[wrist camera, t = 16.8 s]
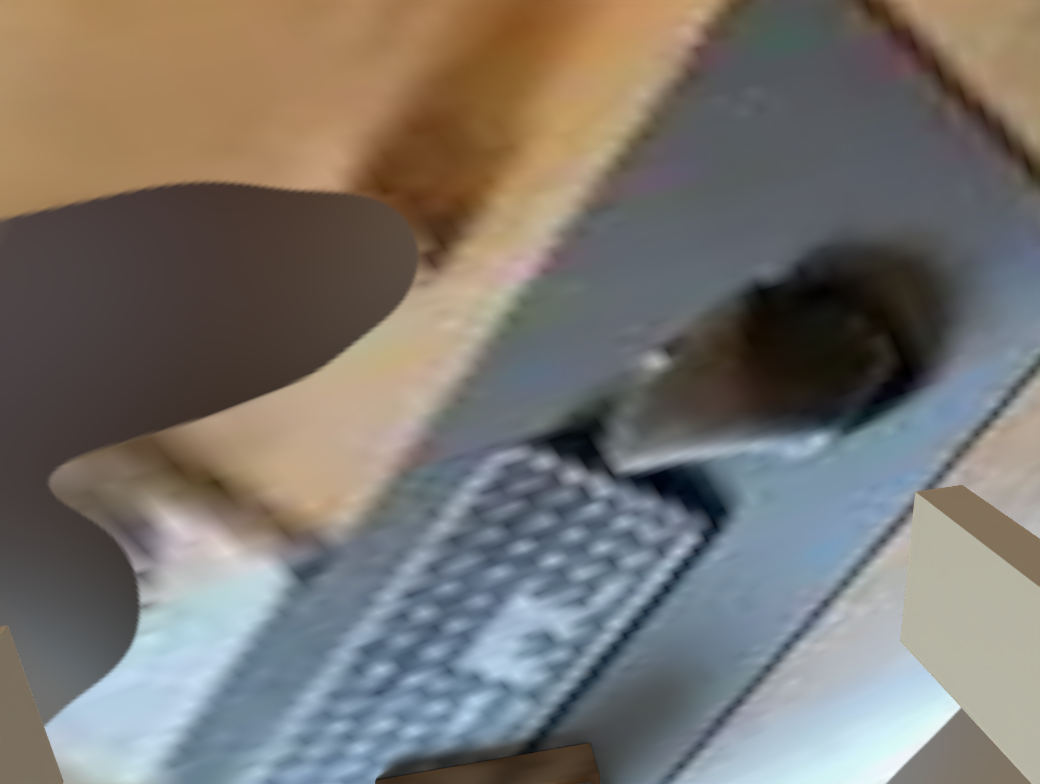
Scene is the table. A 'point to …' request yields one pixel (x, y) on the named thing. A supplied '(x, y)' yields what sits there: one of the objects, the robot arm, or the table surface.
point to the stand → (516, 770)
